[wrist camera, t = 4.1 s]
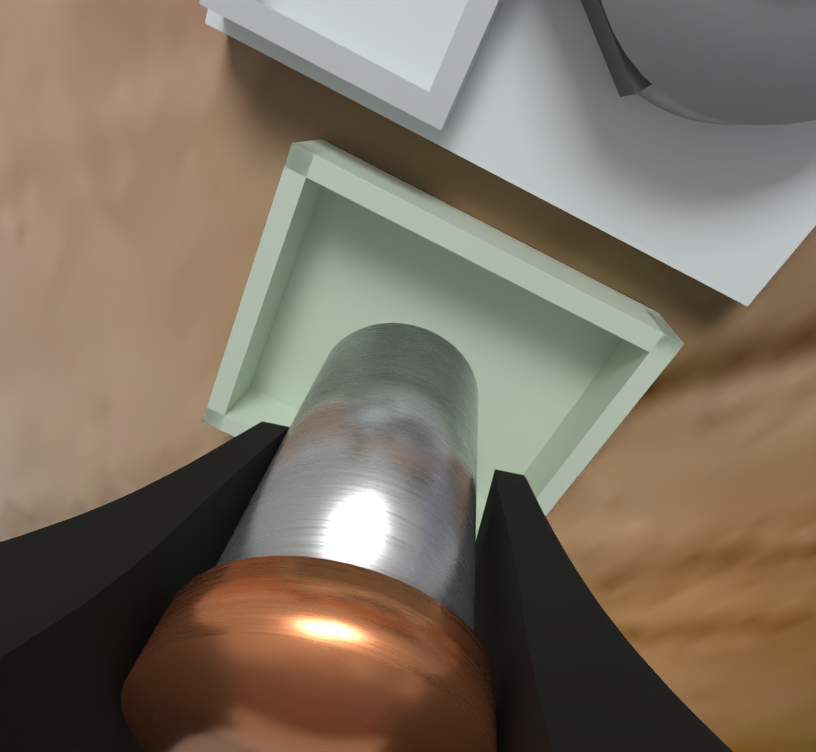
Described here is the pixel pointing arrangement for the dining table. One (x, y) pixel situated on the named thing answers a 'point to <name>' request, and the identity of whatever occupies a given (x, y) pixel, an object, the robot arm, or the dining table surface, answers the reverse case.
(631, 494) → the dining table surface
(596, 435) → the tray
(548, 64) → the pulley board
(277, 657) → the pin
